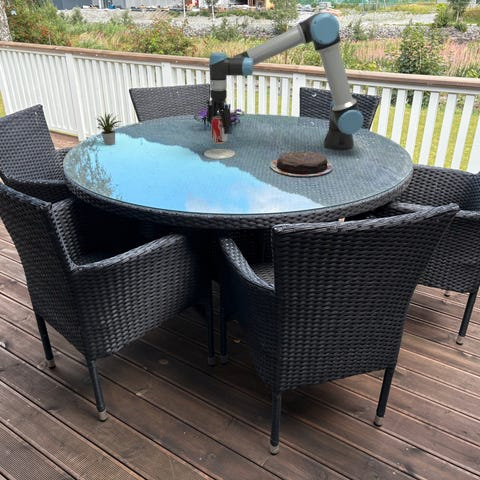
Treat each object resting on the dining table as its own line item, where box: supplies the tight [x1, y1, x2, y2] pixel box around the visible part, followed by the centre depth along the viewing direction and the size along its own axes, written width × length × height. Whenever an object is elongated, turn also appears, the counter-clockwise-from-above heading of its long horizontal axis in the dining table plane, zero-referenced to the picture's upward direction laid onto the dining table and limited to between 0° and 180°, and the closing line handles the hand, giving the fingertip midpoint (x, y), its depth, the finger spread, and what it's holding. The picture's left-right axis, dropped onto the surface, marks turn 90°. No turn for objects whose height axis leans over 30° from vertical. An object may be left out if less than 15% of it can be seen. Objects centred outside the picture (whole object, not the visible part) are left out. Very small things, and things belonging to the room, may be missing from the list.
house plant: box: [95, 112, 122, 146], centre depth 235 cm, size 14×14×16 cm
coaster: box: [204, 148, 236, 160], centre depth 223 cm, size 15×15×1 cm
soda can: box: [211, 116, 226, 145], centre depth 218 cm, size 7×7×12 cm
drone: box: [193, 108, 245, 135], centre depth 266 cm, size 40×10×28 cm
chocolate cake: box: [269, 151, 333, 178], centre depth 205 cm, size 28×28×7 cm
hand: (219, 138), depth 220 cm, fingers closed on soda can, 7 cm apart
